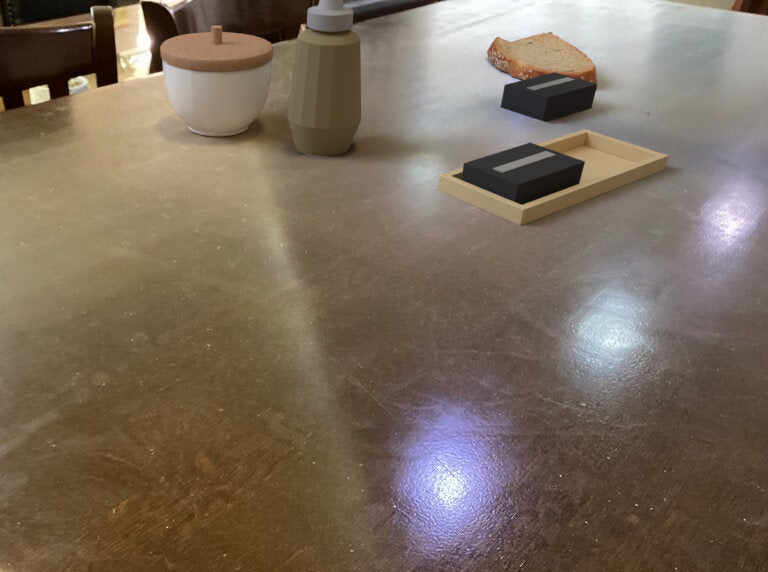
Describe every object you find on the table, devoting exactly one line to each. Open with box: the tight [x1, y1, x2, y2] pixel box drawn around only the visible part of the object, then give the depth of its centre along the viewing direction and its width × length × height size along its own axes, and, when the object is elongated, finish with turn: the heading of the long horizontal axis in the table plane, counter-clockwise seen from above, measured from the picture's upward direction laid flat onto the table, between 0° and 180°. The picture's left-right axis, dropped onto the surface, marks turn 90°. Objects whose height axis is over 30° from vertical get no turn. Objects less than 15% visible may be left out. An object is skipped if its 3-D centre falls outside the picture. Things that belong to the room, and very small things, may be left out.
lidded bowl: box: [159, 25, 274, 137], centre depth 93 cm, size 13×13×11 cm
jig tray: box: [437, 128, 670, 226], centre depth 82 cm, size 24×10×2 cm, turn 127°
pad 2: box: [461, 142, 585, 205], centre depth 79 cm, size 10×6×3 cm, turn 127°
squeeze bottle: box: [286, 0, 362, 157], centre depth 85 cm, size 8×8×18 cm
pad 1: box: [500, 72, 598, 123], centre depth 102 cm, size 10×6×3 cm, turn 127°
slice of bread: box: [486, 31, 598, 85], centre depth 117 cm, size 18×18×4 cm
